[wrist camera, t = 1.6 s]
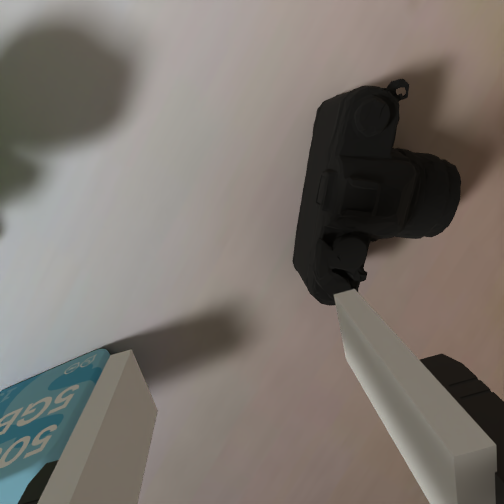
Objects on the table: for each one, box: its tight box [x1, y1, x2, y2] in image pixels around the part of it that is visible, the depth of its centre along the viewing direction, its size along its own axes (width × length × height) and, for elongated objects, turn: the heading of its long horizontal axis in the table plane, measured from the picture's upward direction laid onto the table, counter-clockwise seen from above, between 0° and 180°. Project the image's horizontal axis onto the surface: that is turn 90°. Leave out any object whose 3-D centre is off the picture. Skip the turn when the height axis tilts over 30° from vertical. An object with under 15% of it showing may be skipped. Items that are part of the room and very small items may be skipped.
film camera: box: [293, 79, 461, 305], centre depth 25 cm, size 15×10×9 cm, turn 172°
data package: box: [0, 349, 110, 504], centre depth 26 cm, size 12×4×12 cm, turn 113°
